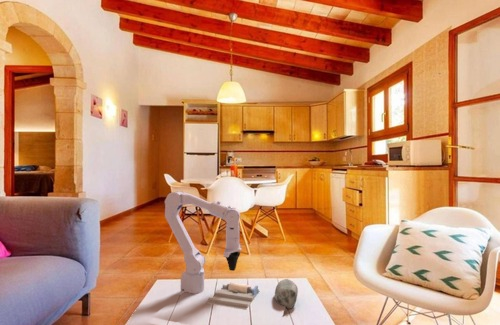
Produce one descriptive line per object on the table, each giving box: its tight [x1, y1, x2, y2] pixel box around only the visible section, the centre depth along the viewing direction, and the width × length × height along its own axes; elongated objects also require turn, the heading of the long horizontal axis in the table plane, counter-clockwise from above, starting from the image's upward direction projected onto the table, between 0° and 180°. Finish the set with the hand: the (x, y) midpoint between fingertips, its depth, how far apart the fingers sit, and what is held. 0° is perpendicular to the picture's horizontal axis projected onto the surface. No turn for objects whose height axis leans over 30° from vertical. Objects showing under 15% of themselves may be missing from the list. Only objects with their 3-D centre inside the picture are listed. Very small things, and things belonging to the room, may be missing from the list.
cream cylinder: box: [226, 282, 252, 294], centre depth 124 cm, size 10×4×4 cm, turn 71°
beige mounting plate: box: [206, 284, 260, 310], centre depth 120 cm, size 16×18×4 cm
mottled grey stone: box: [274, 278, 299, 310], centre depth 118 cm, size 14×10×10 cm
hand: (232, 270), depth 126 cm, fingers closed
